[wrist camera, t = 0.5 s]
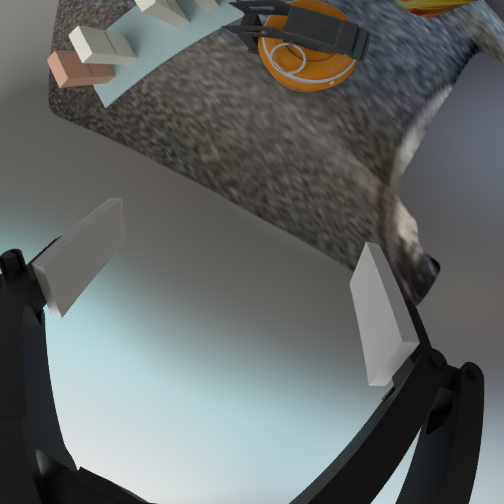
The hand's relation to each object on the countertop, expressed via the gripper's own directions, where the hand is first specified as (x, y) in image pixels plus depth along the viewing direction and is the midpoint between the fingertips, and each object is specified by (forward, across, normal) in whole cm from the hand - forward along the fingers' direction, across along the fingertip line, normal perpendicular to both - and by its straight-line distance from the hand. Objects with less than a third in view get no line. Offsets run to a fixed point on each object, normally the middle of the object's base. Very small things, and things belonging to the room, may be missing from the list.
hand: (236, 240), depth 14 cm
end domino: (+26, -27, +11) cm, 39 cm away
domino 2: (+26, -16, +19) cm, 36 cm away
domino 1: (+26, -23, +14) cm, 37 cm away
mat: (+26, -20, +16) cm, 37 cm away
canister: (+27, +1, +13) cm, 30 cm away
